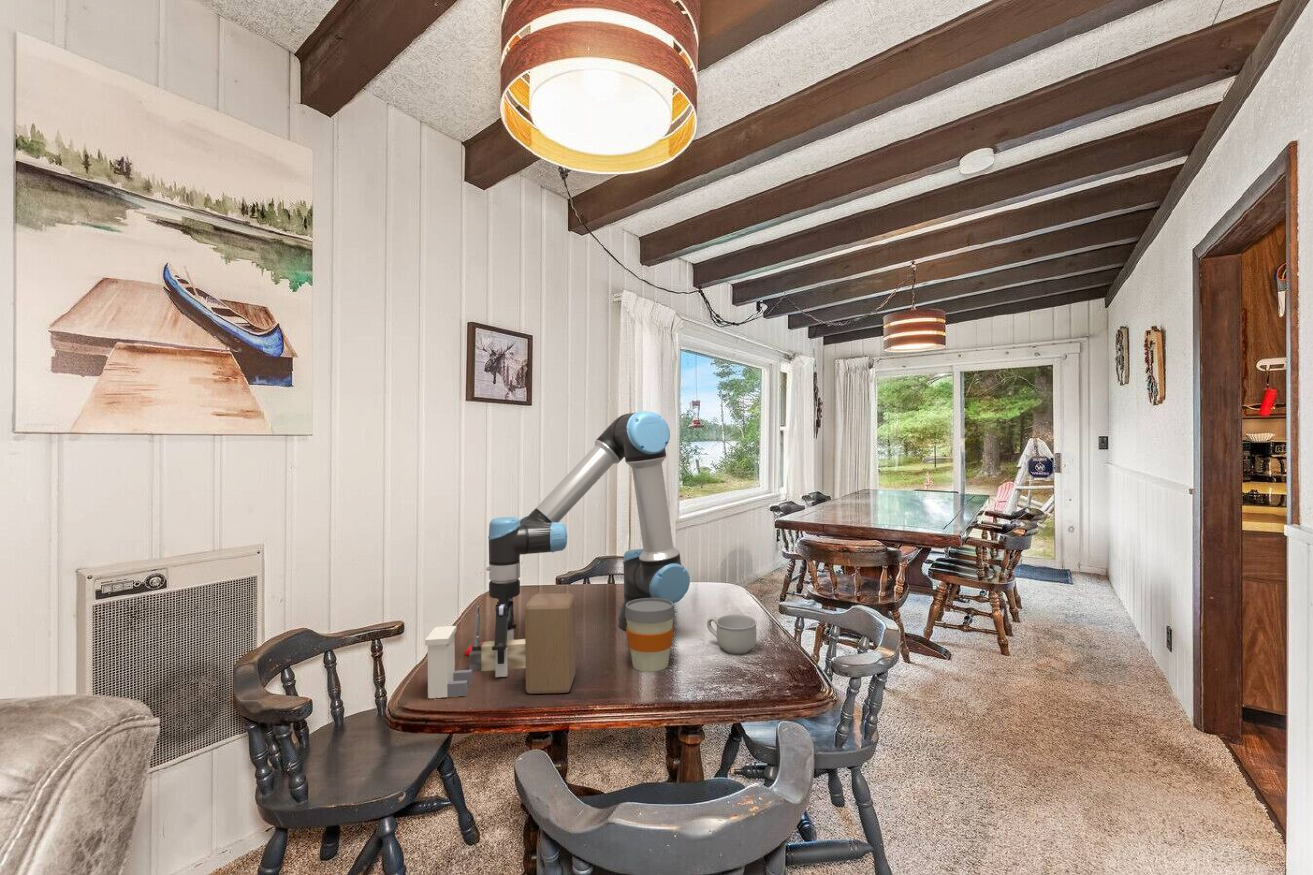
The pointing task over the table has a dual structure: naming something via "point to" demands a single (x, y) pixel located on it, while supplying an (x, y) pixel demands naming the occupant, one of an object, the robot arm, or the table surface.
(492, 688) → the table surface
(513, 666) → the rail
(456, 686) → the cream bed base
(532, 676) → the block
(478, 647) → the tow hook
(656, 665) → the reusable coffee cup
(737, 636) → the teacup
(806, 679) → the table surface
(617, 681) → the table surface
